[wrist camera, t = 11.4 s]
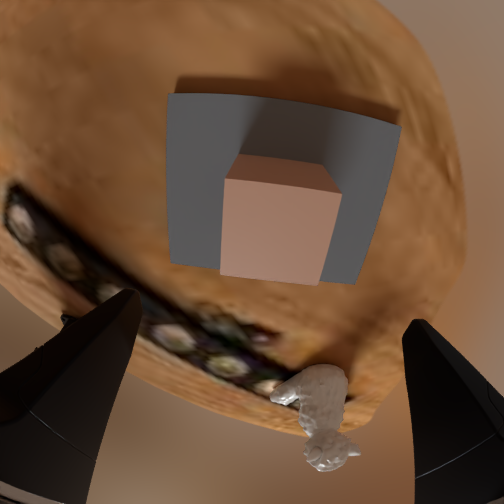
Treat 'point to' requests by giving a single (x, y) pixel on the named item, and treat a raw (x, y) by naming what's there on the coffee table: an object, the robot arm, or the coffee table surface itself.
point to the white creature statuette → (320, 413)
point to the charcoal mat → (276, 146)
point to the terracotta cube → (277, 219)
